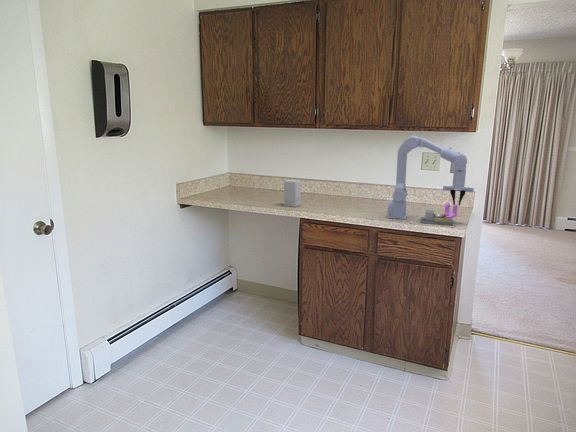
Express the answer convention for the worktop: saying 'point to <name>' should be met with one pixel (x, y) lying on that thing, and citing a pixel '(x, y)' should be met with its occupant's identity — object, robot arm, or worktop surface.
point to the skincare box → (292, 193)
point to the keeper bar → (443, 219)
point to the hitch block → (429, 215)
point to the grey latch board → (437, 222)
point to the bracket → (449, 214)
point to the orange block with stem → (439, 215)
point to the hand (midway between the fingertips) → (456, 205)
